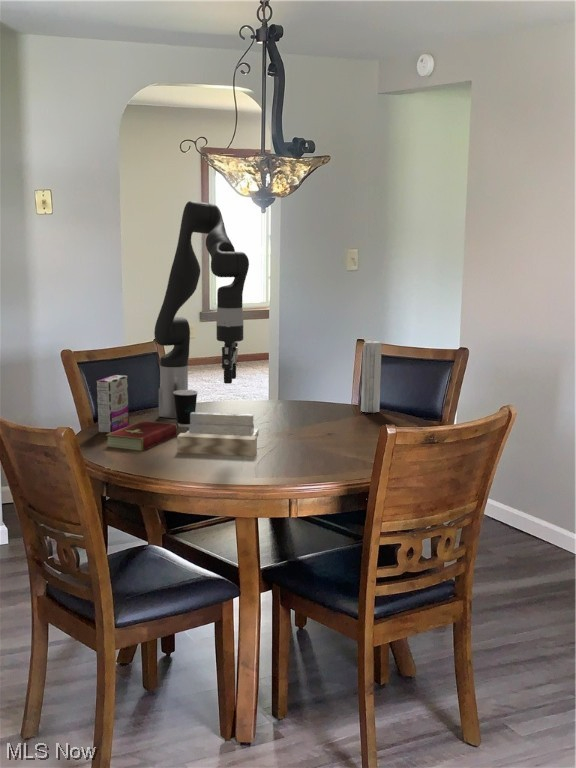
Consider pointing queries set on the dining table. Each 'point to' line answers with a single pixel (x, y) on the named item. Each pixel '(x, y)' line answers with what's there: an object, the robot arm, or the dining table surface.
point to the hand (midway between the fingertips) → (230, 380)
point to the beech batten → (217, 444)
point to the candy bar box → (112, 403)
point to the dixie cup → (184, 406)
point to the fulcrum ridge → (222, 424)
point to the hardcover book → (141, 435)
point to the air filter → (371, 376)
